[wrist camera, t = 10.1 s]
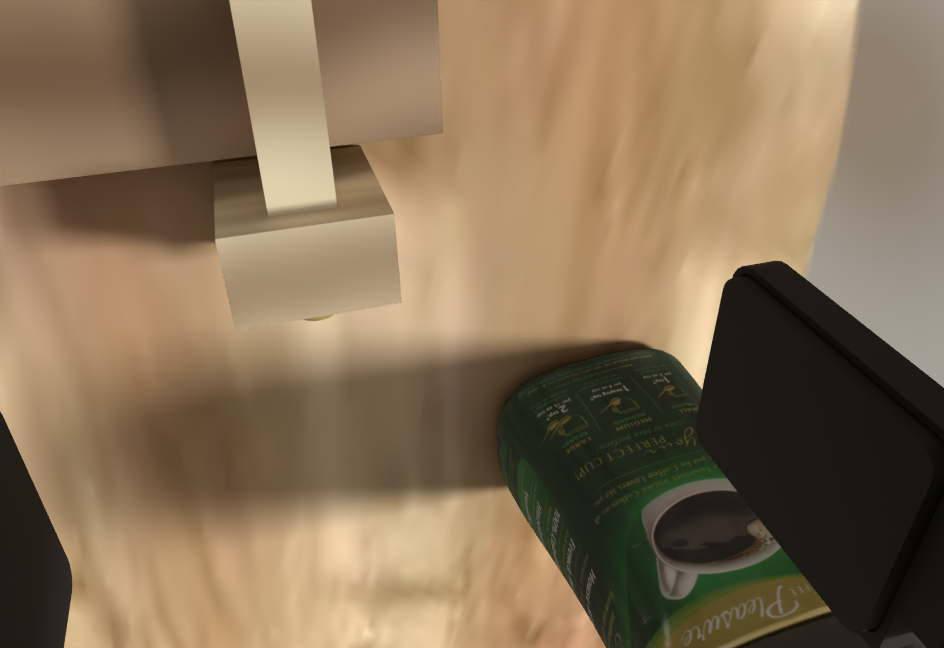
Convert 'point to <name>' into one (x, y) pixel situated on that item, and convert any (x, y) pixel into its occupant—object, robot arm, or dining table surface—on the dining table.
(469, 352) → the dining table surface
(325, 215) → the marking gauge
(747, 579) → the coffee jar
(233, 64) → the walnut board
